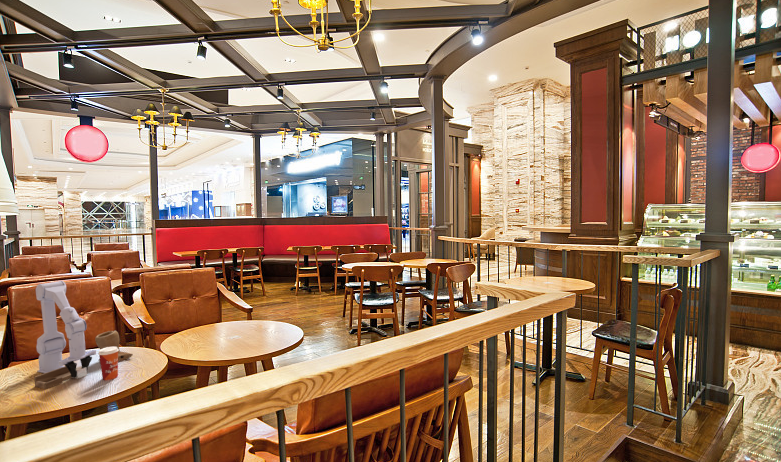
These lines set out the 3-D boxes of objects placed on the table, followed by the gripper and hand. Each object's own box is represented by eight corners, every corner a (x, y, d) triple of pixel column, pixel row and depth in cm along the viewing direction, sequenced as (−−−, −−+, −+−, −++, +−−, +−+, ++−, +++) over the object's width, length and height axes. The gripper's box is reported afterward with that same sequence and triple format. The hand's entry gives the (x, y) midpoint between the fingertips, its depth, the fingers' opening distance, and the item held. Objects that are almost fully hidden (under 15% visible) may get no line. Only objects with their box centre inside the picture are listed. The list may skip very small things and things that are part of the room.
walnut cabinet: (35, 387, 170) (34, 376, 170) (73, 373, 185) (72, 363, 184) (49, 391, 167) (48, 379, 167) (87, 376, 181) (86, 366, 181)
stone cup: (92, 362, 199) (90, 333, 198) (117, 354, 210) (115, 326, 209) (109, 366, 192) (107, 337, 191) (133, 358, 203) (132, 330, 202)
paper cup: (109, 383, 174) (107, 352, 173) (95, 381, 175) (93, 351, 174) (125, 375, 181) (123, 346, 180) (111, 374, 183) (109, 345, 182)
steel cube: (71, 377, 179) (71, 369, 178) (81, 374, 182) (80, 366, 182) (77, 379, 177) (76, 370, 177) (87, 375, 181) (86, 367, 181)
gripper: (65, 352, 171) (67, 382, 172) (99, 342, 184) (101, 369, 185) (54, 351, 173) (57, 380, 174) (89, 340, 187) (91, 367, 188)
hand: (79, 375), depth 180 cm, fingers closed on steel cube, 4 cm apart
